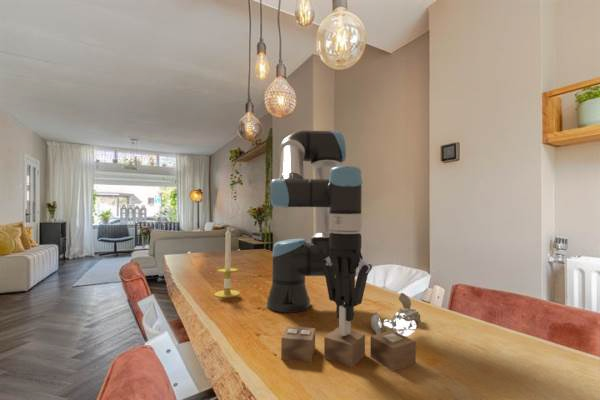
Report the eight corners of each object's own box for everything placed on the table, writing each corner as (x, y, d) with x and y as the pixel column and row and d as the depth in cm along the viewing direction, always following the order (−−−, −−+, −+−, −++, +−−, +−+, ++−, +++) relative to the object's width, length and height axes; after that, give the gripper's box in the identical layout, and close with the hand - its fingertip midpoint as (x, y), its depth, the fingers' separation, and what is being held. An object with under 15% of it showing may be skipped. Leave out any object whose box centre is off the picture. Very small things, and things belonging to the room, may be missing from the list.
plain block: (324, 359, 70) (324, 337, 70) (338, 347, 75) (338, 327, 75) (352, 368, 66) (352, 345, 66) (364, 355, 71) (364, 334, 71)
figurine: (370, 310, 90) (412, 306, 87) (374, 332, 89) (417, 329, 86) (368, 318, 81) (415, 315, 78) (372, 343, 80) (420, 341, 77)
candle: (236, 297, 116) (237, 227, 117) (210, 297, 116) (212, 227, 117) (242, 290, 126) (243, 226, 127) (218, 290, 126) (219, 225, 127)
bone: (419, 325, 85) (401, 291, 89) (399, 332, 89) (384, 299, 93) (428, 319, 92) (412, 288, 96) (410, 326, 95) (395, 295, 99)
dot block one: (370, 357, 70) (370, 334, 70) (392, 351, 74) (392, 329, 74) (393, 372, 64) (393, 346, 64) (415, 364, 68) (415, 340, 68)
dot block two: (281, 360, 69) (281, 336, 69) (287, 346, 76) (287, 324, 76) (311, 362, 68) (311, 338, 68) (315, 348, 75) (315, 327, 75)
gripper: (313, 231, 73) (313, 330, 72) (361, 234, 64) (361, 347, 63) (331, 230, 78) (331, 322, 78) (378, 232, 70) (378, 336, 69)
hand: (344, 333), depth 71 cm, fingers closed
